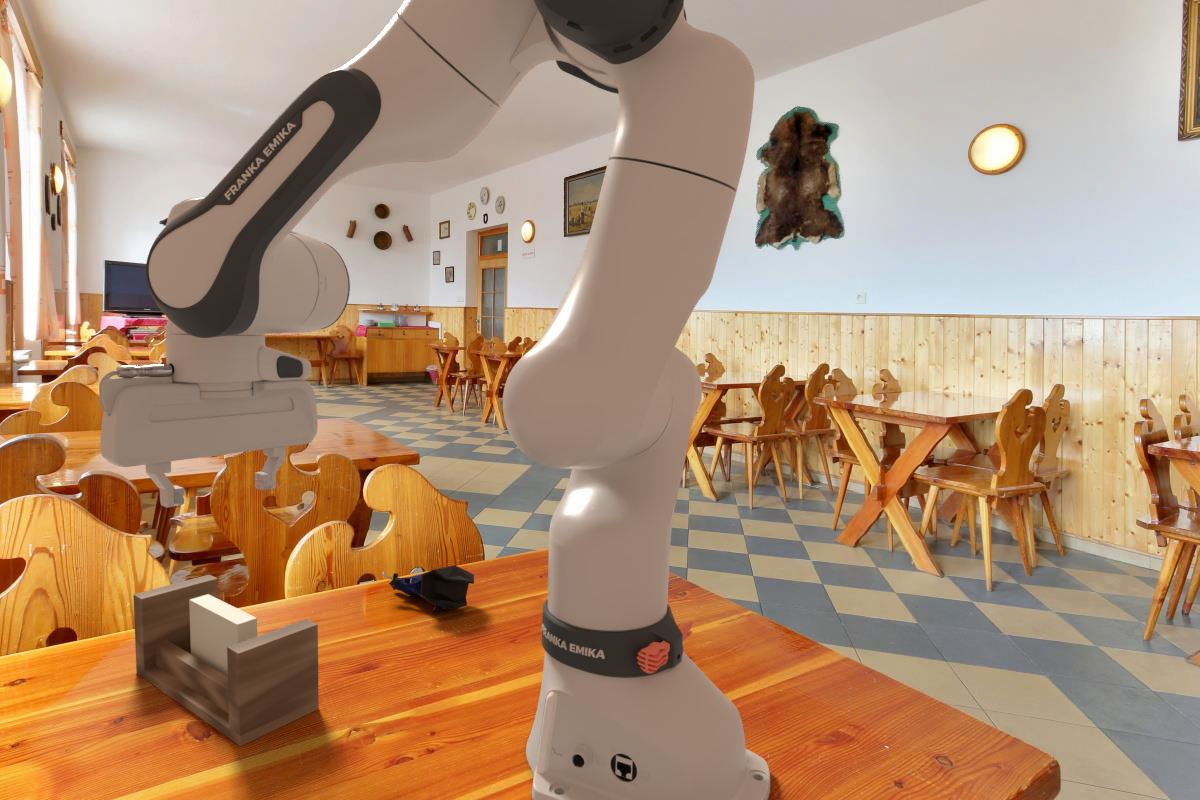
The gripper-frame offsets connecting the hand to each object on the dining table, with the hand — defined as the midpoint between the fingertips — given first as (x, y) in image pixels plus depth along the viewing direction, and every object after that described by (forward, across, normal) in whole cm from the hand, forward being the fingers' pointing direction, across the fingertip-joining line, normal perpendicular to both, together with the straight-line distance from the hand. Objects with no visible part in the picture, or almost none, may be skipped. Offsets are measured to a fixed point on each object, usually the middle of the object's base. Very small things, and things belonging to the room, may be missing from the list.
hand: (221, 496), depth 71 cm
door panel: (+20, 0, 0) cm, 20 cm away
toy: (+21, +29, +2) cm, 36 cm away
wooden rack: (+21, 0, 0) cm, 21 cm away
